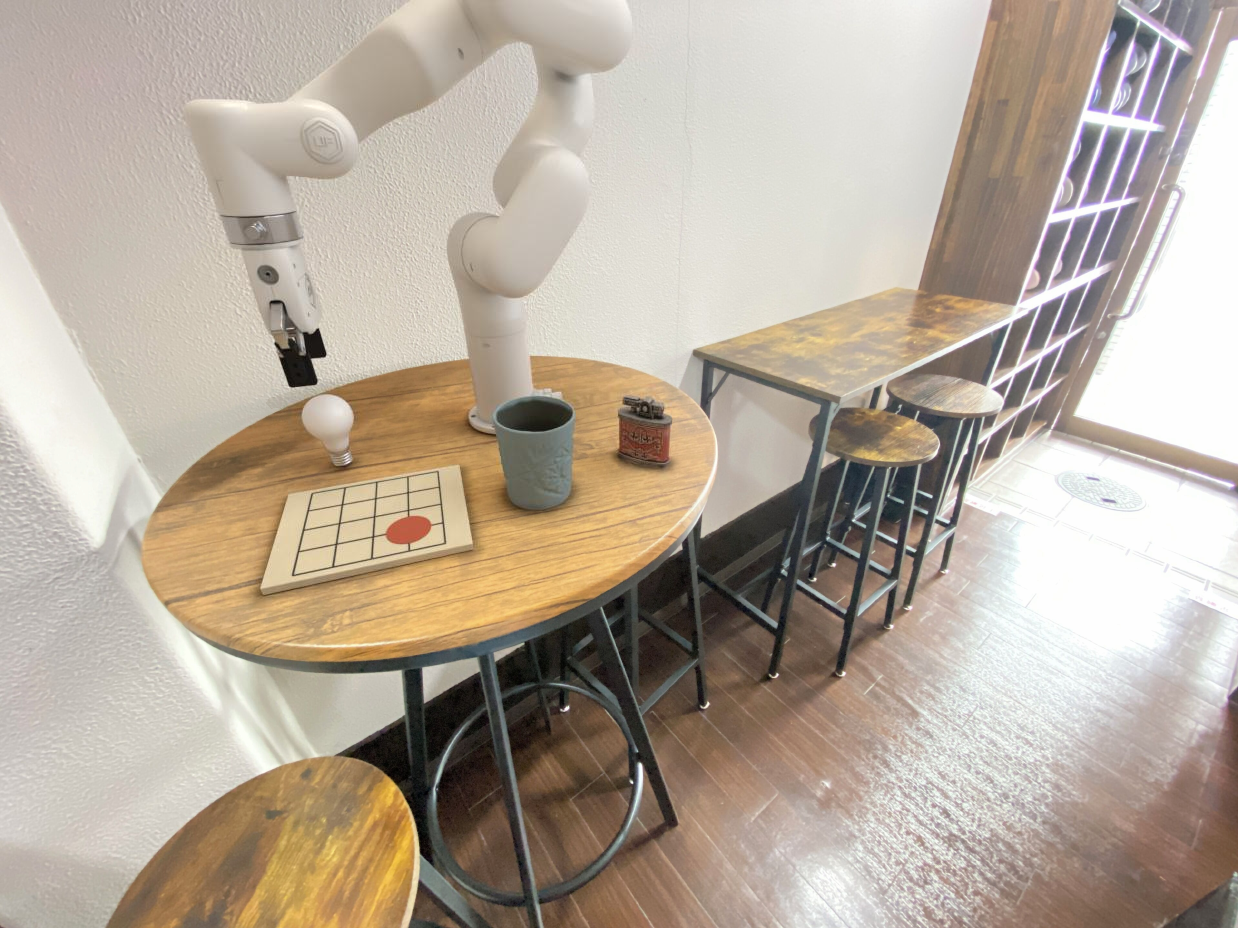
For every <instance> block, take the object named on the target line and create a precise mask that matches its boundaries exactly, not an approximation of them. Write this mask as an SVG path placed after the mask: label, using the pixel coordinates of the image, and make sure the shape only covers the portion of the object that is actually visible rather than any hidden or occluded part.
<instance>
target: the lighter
mask: <svg viewBox="0 0 1238 928" xmlns="http://www.w3.org/2000/svg"><path fill="white" fill-rule="evenodd" d="M622 405H623V407H620V408H619V409H617V417H618V449H617V457H618V458H619V459H621V460H623V461H625V462H628V463H630V464H634V465H638V466H642V467H646V468H653V469H666V468H668V467H669V466H670V462H671V459H670V443H671V442H670V441H671V426H672V424H673V417H672V416H671V415H669V414H666V413H664V412H665V402H660V401H656V400H655V399H654V397H652V396H649V395H648V396H646V397H645V398H642V397H640V396H638V395H637V396H636V395H631V394H624V395H623V396H622Z"/></svg>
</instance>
